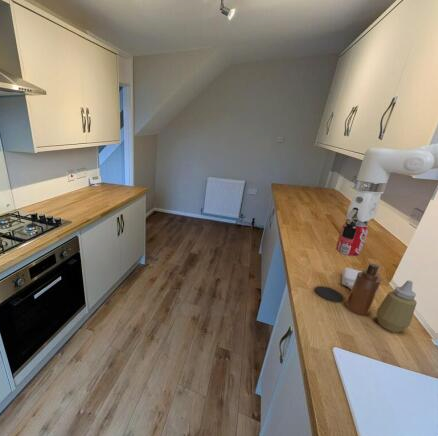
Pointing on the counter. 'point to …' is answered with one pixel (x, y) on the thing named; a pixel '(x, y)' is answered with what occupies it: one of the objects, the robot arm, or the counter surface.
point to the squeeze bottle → (397, 308)
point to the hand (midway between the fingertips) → (352, 235)
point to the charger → (349, 277)
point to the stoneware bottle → (364, 290)
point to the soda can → (352, 241)
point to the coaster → (329, 294)
